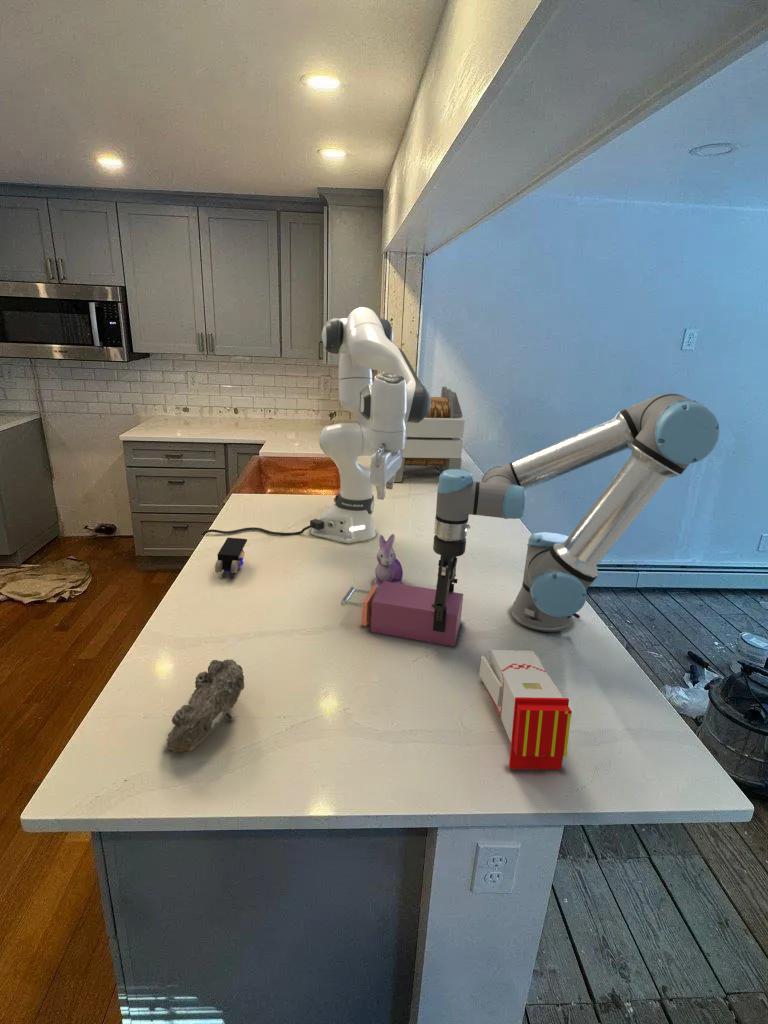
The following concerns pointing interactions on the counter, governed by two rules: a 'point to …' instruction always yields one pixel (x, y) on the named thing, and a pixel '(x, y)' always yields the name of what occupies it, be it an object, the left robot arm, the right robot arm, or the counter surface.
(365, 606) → the drawer
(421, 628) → the cabinet
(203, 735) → the fossil
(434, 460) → the transformer
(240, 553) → the figurine character
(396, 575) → the figurine
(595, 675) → the counter surface
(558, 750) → the toy
